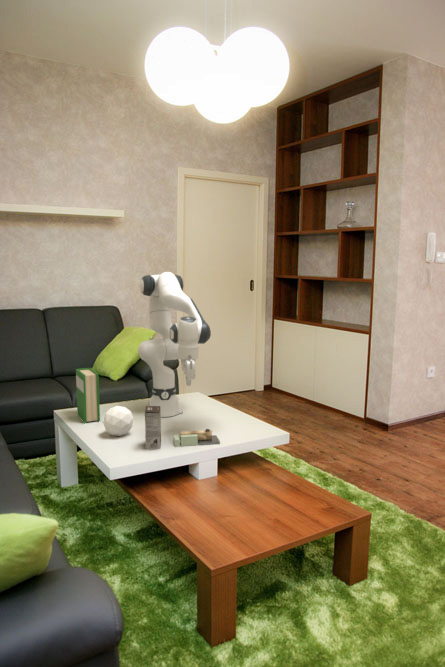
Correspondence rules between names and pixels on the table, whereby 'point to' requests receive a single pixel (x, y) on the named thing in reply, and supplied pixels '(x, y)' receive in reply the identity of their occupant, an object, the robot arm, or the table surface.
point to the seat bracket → (185, 440)
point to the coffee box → (153, 427)
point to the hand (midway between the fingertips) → (188, 385)
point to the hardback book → (88, 394)
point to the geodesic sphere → (118, 420)
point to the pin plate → (209, 441)
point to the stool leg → (199, 434)
